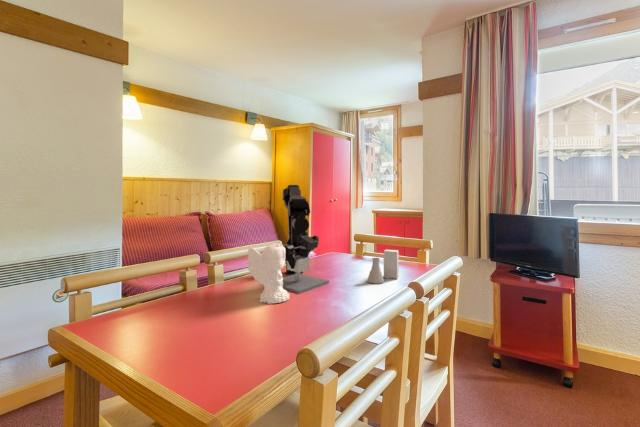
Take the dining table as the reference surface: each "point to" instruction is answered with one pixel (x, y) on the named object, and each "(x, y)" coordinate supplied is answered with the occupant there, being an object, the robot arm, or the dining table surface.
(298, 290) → the post plate
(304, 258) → the grey hollow square block
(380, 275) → the flask
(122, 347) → the dining table surface
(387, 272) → the skincare box
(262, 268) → the cherub figurine
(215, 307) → the dining table surface
